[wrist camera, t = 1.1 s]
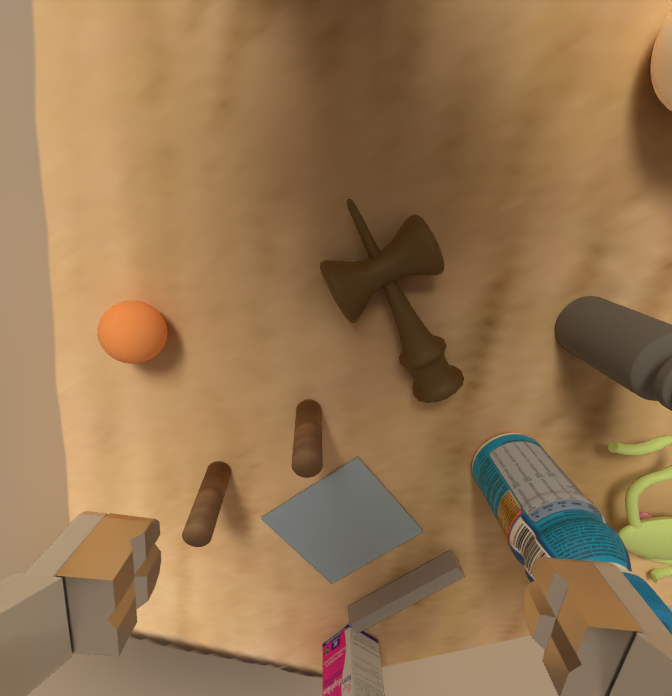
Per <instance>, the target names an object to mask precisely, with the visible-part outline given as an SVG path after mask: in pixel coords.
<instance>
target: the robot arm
mask: <svg viewBox="0 0 672 696" xmlns="http://www.w3.org/2000/svg"><path fill="white" fill-rule="evenodd" d="M159 535H160V526H159V521H158V520H156V519H152V518H144V517H136V516H128V515H120V514H111V513H110V514H106V513H99V512H91V511H85V512H83V513H81V514H79V515H78V516H77V517H76V518H75V519H74V520H73V521H72V522H71V524H70V525H69V526H68V527H67V528H66V529H65V530H64V531H63V532H62V533H61V535H60V536H59V537H58V538H57V539H56V540H55V541H54V542H53V543H52V544H51V546H50V547H49V548H48V549H47V550H46V551H45V552H44V553H43V555H42V556H40V557H39V559H38V560H37V561H36V562H35V563H34V564H33V565H32V566H31V567H30V568H29V570H28V571H27V572H26V573H25V574H20V573H16V574H14V575H12V576H10V577H8V578H6V579H5V580H3V581H1V582H0V696H27V695H28V694H29V693H30V692H31V691H32V690H34V689H35V688H36V687H37V686H38V685H40V684H41V683H42V682H43V681H44V680H45V679H47V678H48V677H49V676H50V675H51V674H52V673H54V672H55V671H56V670H57V669H58V668H59V667H61V666H62V665H63V664H64V663H65V662H66V661H68V660H69V659H70V658H71V657H72V654H87V655H104V656H120V654H121V652H122V650H123V648H124V646H125V644H126V642H127V640H128V638H129V636H130V635H131V633H132V631H133V629H134V627H135V625H136V623H137V612H136V609H138V608H139V607H140V606H142V605H143V604H145V603H146V602H147V601H148V600H149V598H150V596H151V594H152V592H153V590H154V588H155V585H156V581H157V578H158V575H159V571H160V564H161V551H160V550H159V549H158V547H157V546H156V545H155V542H156V541H157V539H158V537H159ZM532 572H533V574H534V576H535V578H536V580H535V581H533V582H532V583H531V584H529V585H528V586H527V587H526V590H525V594H524V598H523V609H524V617H525V620H526V624H527V627H528V629H529V632H530V634H531V636H532V638H533V639H534V640H535V641H536V642H537V643H538V644H539V645H540V646H541V647H543V648H544V649H545V652H544V657H543V663H544V665H545V667H546V669H547V671H548V673H549V676H550V678H551V680H552V682H553V684H554V686H555V689H556V691H557V693H558V695H559V696H672V635H671V633H670V632H669V631H668V630H667V628H666V627H665V626H664V625H663V623H662V622H661V621H660V620H659V618H658V617H657V616H656V615H655V613H654V612H653V611H652V610H651V608H650V607H649V606H648V605H647V603H646V602H645V601H644V600H643V598H642V597H641V596H640V595H639V593H638V592H637V591H636V590H635V588H634V587H633V586H632V585H631V583H630V582H629V581H628V579H627V578H626V577H625V576H624V574H623V573H622V572H621V571H620V569H619V568H618V567H616V566H615V565H613V564H612V563H610V562H599V561H583V560H572V559H561V558H550V557H539V558H538V559H537V560H536V561H535V562H534V565H533V568H532Z"/></svg>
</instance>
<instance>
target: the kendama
mask: <svg viewBox="0 0 672 696" xmlns="http://www.w3.org/2000/svg"><path fill="white" fill-rule="evenodd" d="M347 206H348V209H349V211H350V214H351V216H352V218H353V221H354V223H355V225H356V228H357V230H358V232H359V234H360V237H361V239H362V241H363V243H364V246H365V248H366V250H367V252H368V254H369V258H367V259H365V260H362V261H357V262H341V261H323V262H321V265H320V268H321V272H322V275H323V277H324V279H325V281H326V284H327V286H328V288H329V290H330V292H331V294H332V296H333V298H334V300H335V301H336V303H337V305H338V306H339V308H340V310H341V311H342V313H343V314H344V315H345V317H346V318H347V319H348V320H349V321H350V322H351V323H355V322H356V321H357V320H358V319H359V317H360V315H361V314H362V312H363V310H364V308H365V306H366V305H367V303H368V301H369V300H370V298H371V297H372V295H373V294H374V293H375V292H376V291H377V290H378V289H380V288H381V287H383V289H384V292H385V294H386V297H387V300H388V302H389V305H390V308H391V310H392V313H393V316H394V319H395V322H396V325H397V328H398V331H399V335H400V338H401V342H402V352H401V354H400V356H399V358H400V363H401V364H402V365H403V366H404V367H406V368H409V369H410V370H411V372H412V374H413V377H414V384H413V387H412V389H413V395H414V396H415V397H416V398H417V399H418V400H419V401H422V402H426V403H430V402H438V401H441V400H443V399H446V398H448V397H450V396H451V395H453V394H454V393H456V392H457V390H458V389H459V388H460V387H461V386H462V385H463V381H464V377H463V374H462V372H461V370H459V369H458V368H456V367H455V366H451V365H449V364H448V362H447V361H446V359H445V356H444V351H445V348H446V343H445V341H444V339H442V338H440V337H438V336H433V335H432V334H431V333H430V332H429V331H428V329H427V328H426V327H425V325H424V324H423V323H422V321H421V320H420V318H419V317H418V315H417V314H416V312H415V311H414V309H413V308H412V306H411V305H410V303H409V301H408V300H407V298H406V297H405V295H404V293H403V292H402V290H401V288H400V287H399V285H398V283H397V281H396V280H397V279H399V278H402V277H406V276H414V275H440V274H441V273H443V271H444V261H443V257H442V254H441V251H440V248H439V245H438V243H437V241H436V239H435V237H434V235H433V233H432V232H431V230H430V228H429V227H428V225H427V224H426V223H425V221H424V220H423V219H422V218H421V217H419V216H417V215H416V214H415V215H412V216H410V217H409V218H408V219H407V220H406V221H405V222H404V224H403V225H402V227H401V228H400V230H399V231H398V233H397V235H396V236H395V237H394V239H393V240H392V241H391V242H390V243H389V244H388V245H387V246H386V247H385V248H384V249H382V250H381V251H380V250H379V248H378V246H377V244H376V242H375V240H374V239H373V237H372V235H371V233H370V231H369V229H368V227H367V225H366V223H365V221H364V219H363V218H362V216H361V214H360V212H359V210H358V208H357V207H356V205H355V203H354V202H353V201H352V200H351V199H348V200H347Z"/></svg>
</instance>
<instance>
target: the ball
mask: <svg viewBox="0 0 672 696" xmlns="http://www.w3.org/2000/svg"><path fill="white" fill-rule="evenodd" d="M98 339H99V342H100V344H101V346H102V348H103V349H104V350H105V352H106V353H107V354H109V355H110V356H111V357H113V358H114V359H116V360H118V361H121V362H124V363H133V364H134V363H142V362H145V361H148V360H150V359H152V358H154V357H155V356H156V355H157V354H159V353H160V351H161V350H162V349H163V347H164V345H165V343H166V340H167V325H166V322H165V320H164V318H163V317H162V315H161V314H160V313H159V312H158V311H157V310H156V309H155V308H153V307H152V306H150V305H148V304H146V303H142V302H137V301H126V302H122V303H119V304H116V305H114V306H112V307H111V308H110V309H108V310H107V311H106V312H105V313H104V315H103V316H102V318H101V319H100V322H99V325H98Z"/></svg>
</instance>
